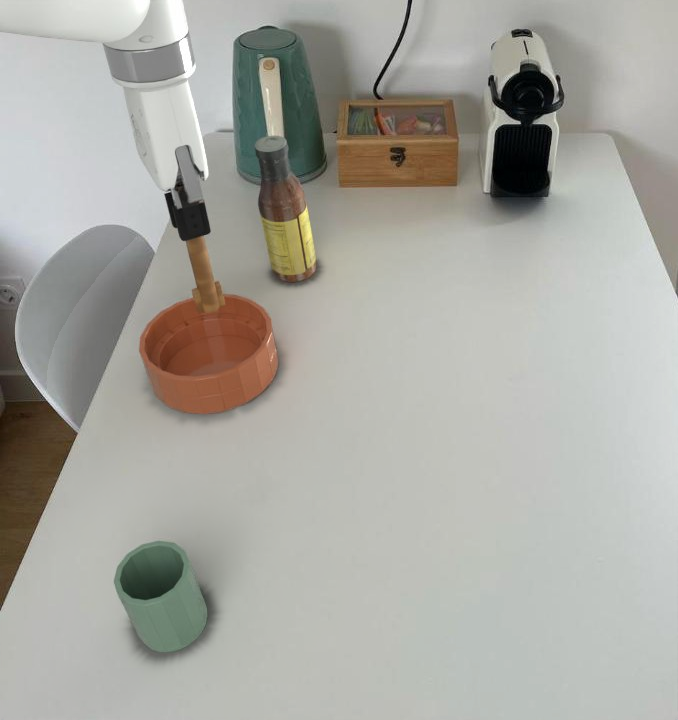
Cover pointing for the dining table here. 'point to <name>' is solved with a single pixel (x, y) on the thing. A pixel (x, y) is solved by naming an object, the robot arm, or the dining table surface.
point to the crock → (161, 596)
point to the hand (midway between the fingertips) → (191, 228)
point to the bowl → (209, 355)
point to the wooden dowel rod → (203, 277)
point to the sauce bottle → (284, 213)
